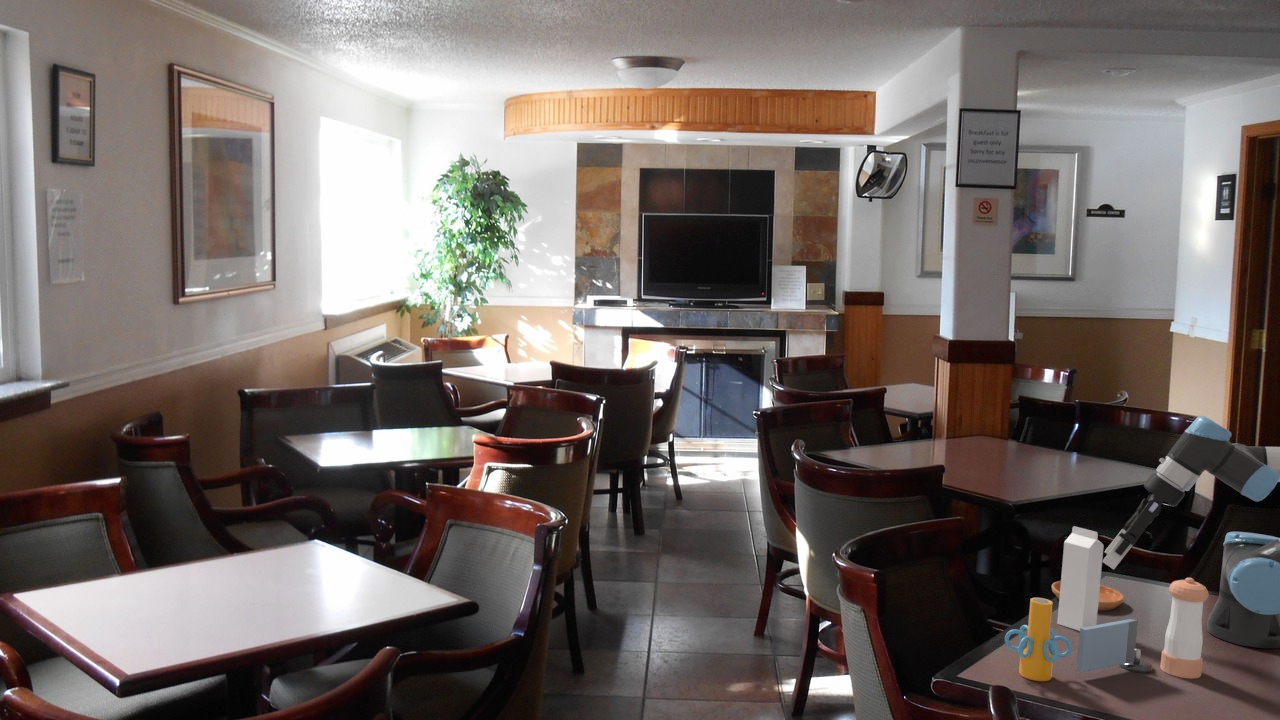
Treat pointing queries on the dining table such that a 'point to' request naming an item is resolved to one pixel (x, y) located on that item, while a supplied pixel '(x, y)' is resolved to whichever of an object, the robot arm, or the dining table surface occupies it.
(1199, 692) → the dining table surface
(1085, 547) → the milk
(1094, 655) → the light blue rectangular panel
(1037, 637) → the tube with blue loops
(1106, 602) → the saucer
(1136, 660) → the shiny grey rounded piece
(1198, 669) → the pepper shaker
